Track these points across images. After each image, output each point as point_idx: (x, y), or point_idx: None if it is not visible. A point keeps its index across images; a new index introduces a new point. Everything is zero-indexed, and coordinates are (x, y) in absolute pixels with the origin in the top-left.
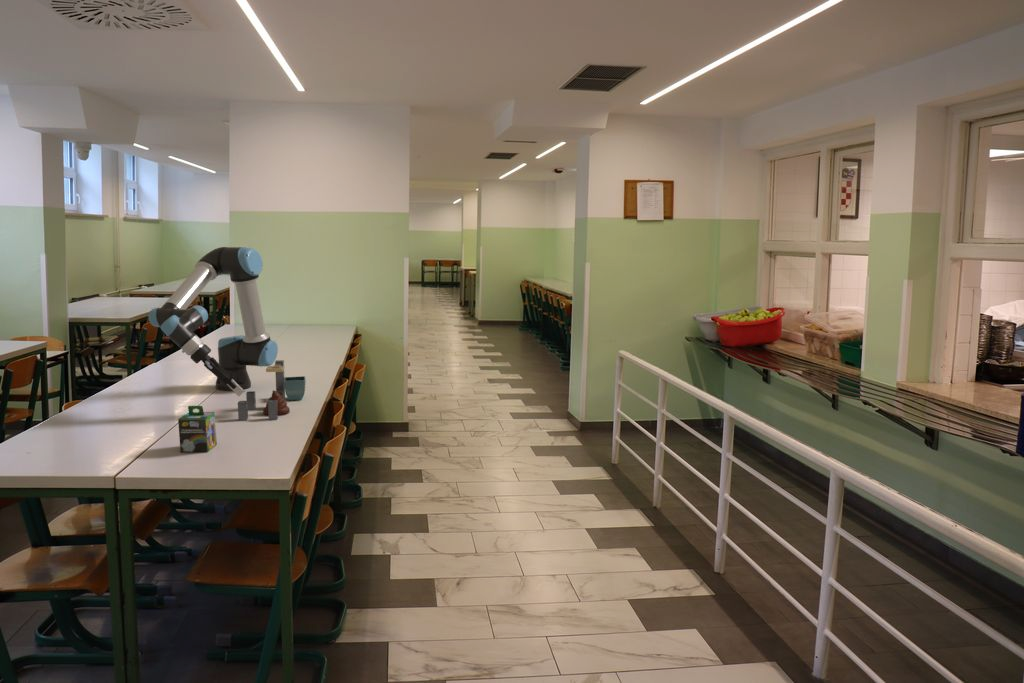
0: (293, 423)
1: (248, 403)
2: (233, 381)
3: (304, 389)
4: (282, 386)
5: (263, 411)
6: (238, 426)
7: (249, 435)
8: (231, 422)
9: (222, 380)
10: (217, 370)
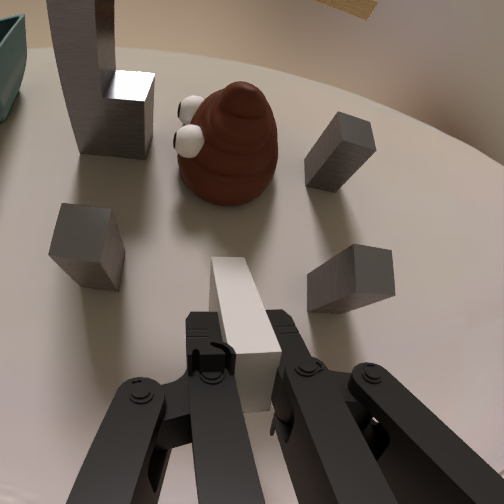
0: (373, 131)
1: (113, 271)
2: (274, 334)
3: (26, 46)
4: (112, 55)
5: (242, 200)
6: (416, 299)
7: (482, 254)
8: (364, 339)
9: (384, 434)
10: (495, 491)
